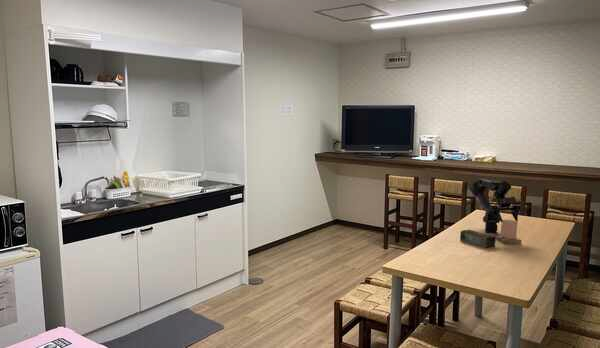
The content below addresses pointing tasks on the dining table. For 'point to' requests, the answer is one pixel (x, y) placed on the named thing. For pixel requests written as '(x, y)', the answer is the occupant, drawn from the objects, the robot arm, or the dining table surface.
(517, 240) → the walnut block
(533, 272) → the dining table surface
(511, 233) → the reddish brown block
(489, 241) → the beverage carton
